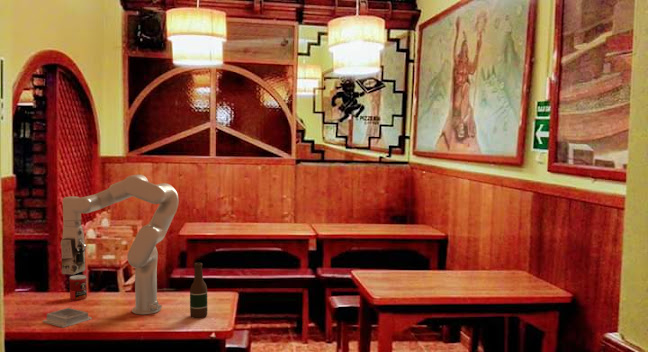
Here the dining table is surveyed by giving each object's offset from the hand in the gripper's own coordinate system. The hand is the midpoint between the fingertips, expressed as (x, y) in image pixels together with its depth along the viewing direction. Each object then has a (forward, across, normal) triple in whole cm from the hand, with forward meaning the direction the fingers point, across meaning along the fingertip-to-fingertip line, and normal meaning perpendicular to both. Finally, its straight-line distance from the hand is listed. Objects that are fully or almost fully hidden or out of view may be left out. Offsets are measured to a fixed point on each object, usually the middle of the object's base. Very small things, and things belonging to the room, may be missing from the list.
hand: (73, 260), depth 268 cm
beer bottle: (+23, -56, -21) cm, 65 cm away
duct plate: (+23, -11, +12) cm, 28 cm away
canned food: (+23, +14, -12) cm, 30 cm away
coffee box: (+5, 0, 0) cm, 5 cm away
